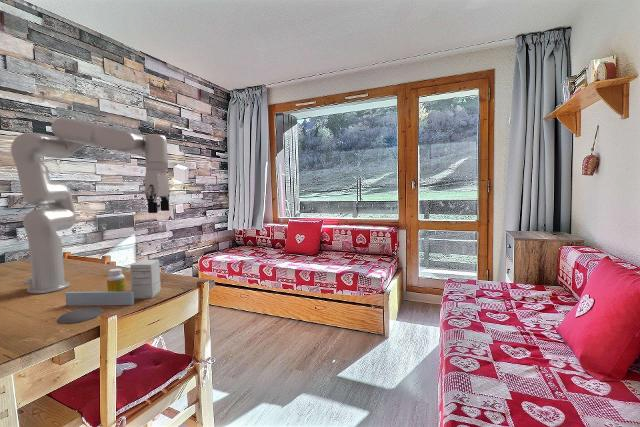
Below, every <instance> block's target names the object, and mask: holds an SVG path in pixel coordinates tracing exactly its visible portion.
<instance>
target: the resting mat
mask: <svg viewBox="0 0 640 427" xmlns="http://www.w3.org/2000/svg"><path fill="white" fill-rule="evenodd" d="M102 313H103V309H102V308H101V307H93V306H92V307H85V308H84V307H83V308H78V309H75V310H70V311H68V312H66V313H63V314H62V315H59V317H58V318H57V321H59V322H58V323H60V324H64V323H70V324H78V323H82V321H83V322H86V321H89V320H93V319H95V318H97V317H99V316H100V315H102ZM77 322H78V323H77Z"/></svg>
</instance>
